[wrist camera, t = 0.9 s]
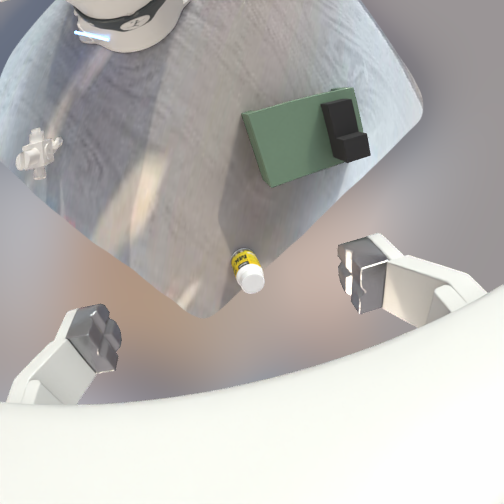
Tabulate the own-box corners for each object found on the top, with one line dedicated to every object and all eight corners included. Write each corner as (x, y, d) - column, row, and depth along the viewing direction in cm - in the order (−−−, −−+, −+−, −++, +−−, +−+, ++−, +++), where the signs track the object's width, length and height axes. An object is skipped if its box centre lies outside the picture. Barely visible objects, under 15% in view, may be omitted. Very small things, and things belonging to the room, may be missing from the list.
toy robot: (48, 171, 39) (15, 192, 28) (43, 127, 35) (7, 137, 25) (67, 167, 39) (37, 187, 29) (63, 122, 36) (29, 129, 25)
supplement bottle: (241, 242, 54) (251, 266, 46) (260, 255, 56) (273, 279, 48) (225, 262, 55) (233, 288, 47) (244, 273, 57) (254, 299, 50)
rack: (241, 113, 43) (247, 114, 38) (338, 87, 43) (353, 87, 39) (262, 180, 49) (271, 188, 45) (352, 149, 50) (367, 155, 45)
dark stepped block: (320, 103, 40) (334, 104, 36) (343, 98, 40) (359, 99, 36) (333, 157, 44) (347, 163, 40) (355, 150, 44) (370, 155, 41)
